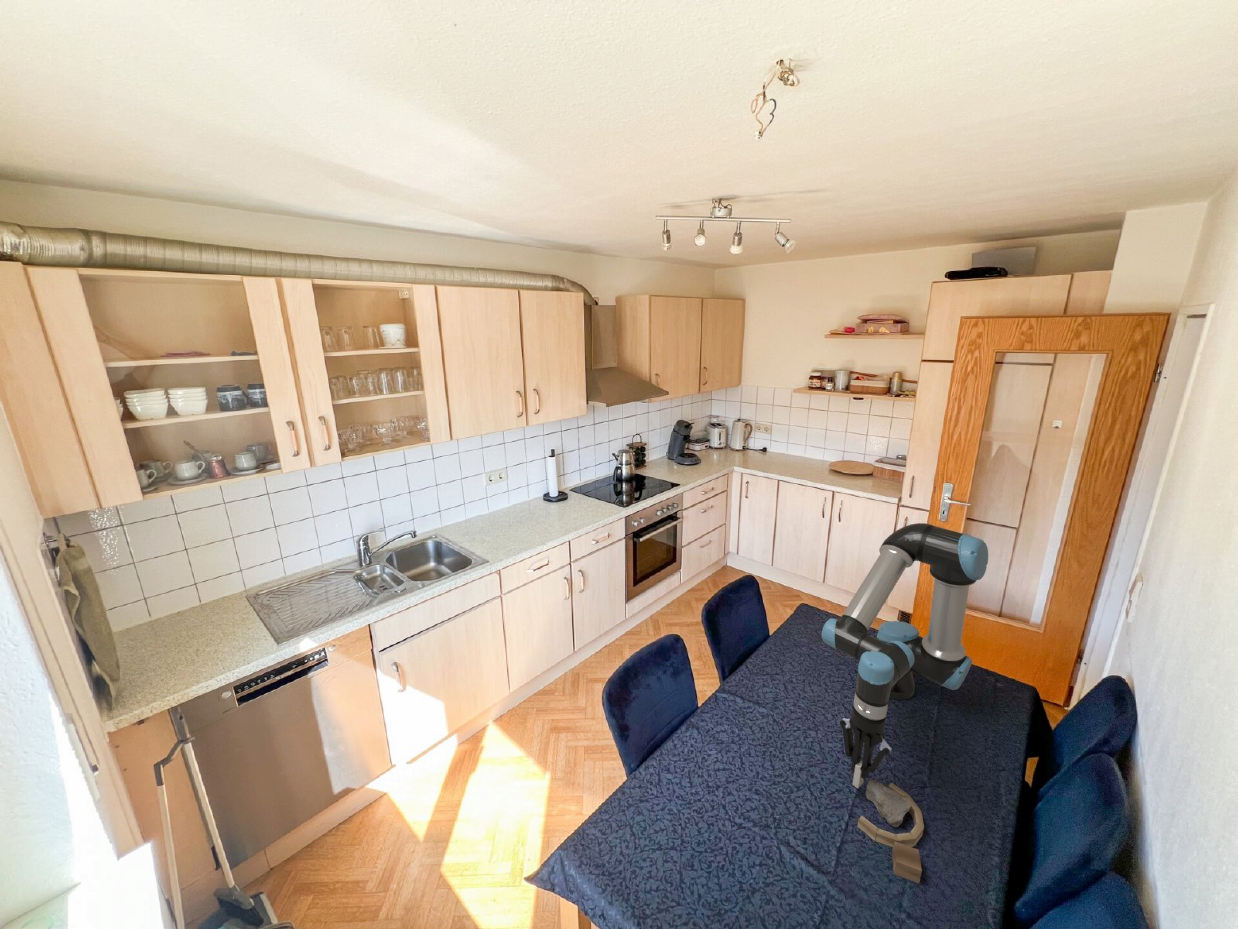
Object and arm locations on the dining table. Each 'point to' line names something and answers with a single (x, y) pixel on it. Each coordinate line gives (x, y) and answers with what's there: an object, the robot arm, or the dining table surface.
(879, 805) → the stone
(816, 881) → the dining table surface
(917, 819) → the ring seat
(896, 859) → the walnut block
